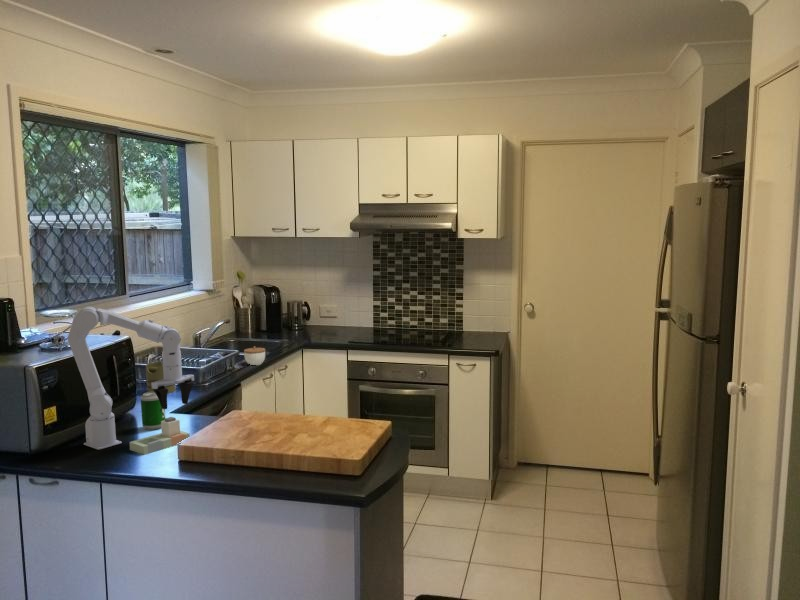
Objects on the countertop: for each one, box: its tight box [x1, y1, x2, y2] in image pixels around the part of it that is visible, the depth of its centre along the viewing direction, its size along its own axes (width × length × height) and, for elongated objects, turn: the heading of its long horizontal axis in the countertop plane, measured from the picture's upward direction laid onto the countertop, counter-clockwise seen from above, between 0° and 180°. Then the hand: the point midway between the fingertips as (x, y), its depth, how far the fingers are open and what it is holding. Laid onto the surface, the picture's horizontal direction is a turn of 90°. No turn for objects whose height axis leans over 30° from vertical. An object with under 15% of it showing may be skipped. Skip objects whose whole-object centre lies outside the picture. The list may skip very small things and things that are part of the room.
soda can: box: [140, 391, 166, 431], centre depth 230 cm, size 8×8×12 cm
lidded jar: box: [243, 345, 266, 366], centre depth 339 cm, size 11×11×9 cm
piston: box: [145, 361, 176, 395], centre depth 284 cm, size 11×12×11 cm
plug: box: [160, 416, 181, 438], centre depth 213 cm, size 4×4×8 cm
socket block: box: [129, 430, 191, 455], centre depth 210 cm, size 8×16×3 cm, turn 141°
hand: (174, 406), depth 220 cm, fingers open, 7 cm apart
